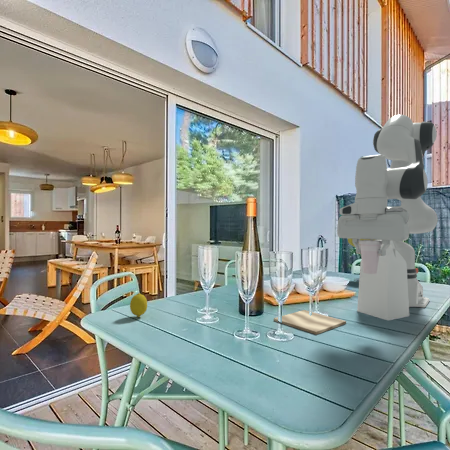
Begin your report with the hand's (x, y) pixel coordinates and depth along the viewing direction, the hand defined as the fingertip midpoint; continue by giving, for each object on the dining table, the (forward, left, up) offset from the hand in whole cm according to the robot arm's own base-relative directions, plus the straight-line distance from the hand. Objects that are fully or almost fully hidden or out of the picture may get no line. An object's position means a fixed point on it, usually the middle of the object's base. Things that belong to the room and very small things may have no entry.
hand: (370, 254), depth 93 cm
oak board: (+9, -15, -22) cm, 28 cm away
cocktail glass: (-79, -41, -23) cm, 92 cm away
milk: (-20, -5, -23) cm, 31 cm away
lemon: (+50, -53, -23) cm, 76 cm away
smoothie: (0, 0, -6) cm, 6 cm away
